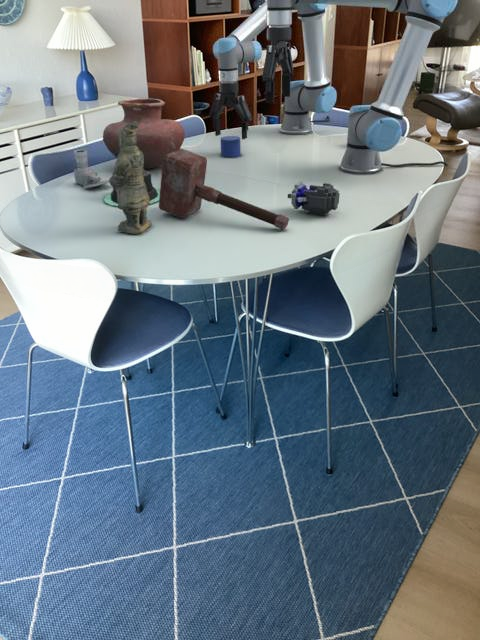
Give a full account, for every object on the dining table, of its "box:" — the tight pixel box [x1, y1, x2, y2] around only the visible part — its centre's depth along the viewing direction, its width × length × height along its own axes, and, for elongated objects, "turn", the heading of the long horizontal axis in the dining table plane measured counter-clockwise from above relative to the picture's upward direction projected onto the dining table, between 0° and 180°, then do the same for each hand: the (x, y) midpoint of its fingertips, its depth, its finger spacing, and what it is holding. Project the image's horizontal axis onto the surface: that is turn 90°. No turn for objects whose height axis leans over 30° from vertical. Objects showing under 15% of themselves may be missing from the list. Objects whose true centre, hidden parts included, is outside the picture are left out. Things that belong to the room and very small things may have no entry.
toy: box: [287, 180, 341, 216], centre depth 168 cm, size 9×9×15 cm
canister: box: [219, 135, 242, 159], centre depth 232 cm, size 8×8×7 cm
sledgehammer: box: [158, 148, 290, 231], centre depth 163 cm, size 17×10×40 cm
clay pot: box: [102, 98, 186, 169], centre depth 213 cm, size 30×30×25 cm
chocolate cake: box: [103, 168, 160, 207], centre depth 186 cm, size 15×19×20 cm
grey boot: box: [73, 148, 110, 189], centre depth 197 cm, size 9×12×15 cm
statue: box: [108, 121, 153, 235], centre depth 154 cm, size 11×9×30 cm
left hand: (231, 136), depth 230 cm, fingers open, 13 cm apart
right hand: (278, 99), depth 181 cm, fingers open, 13 cm apart
